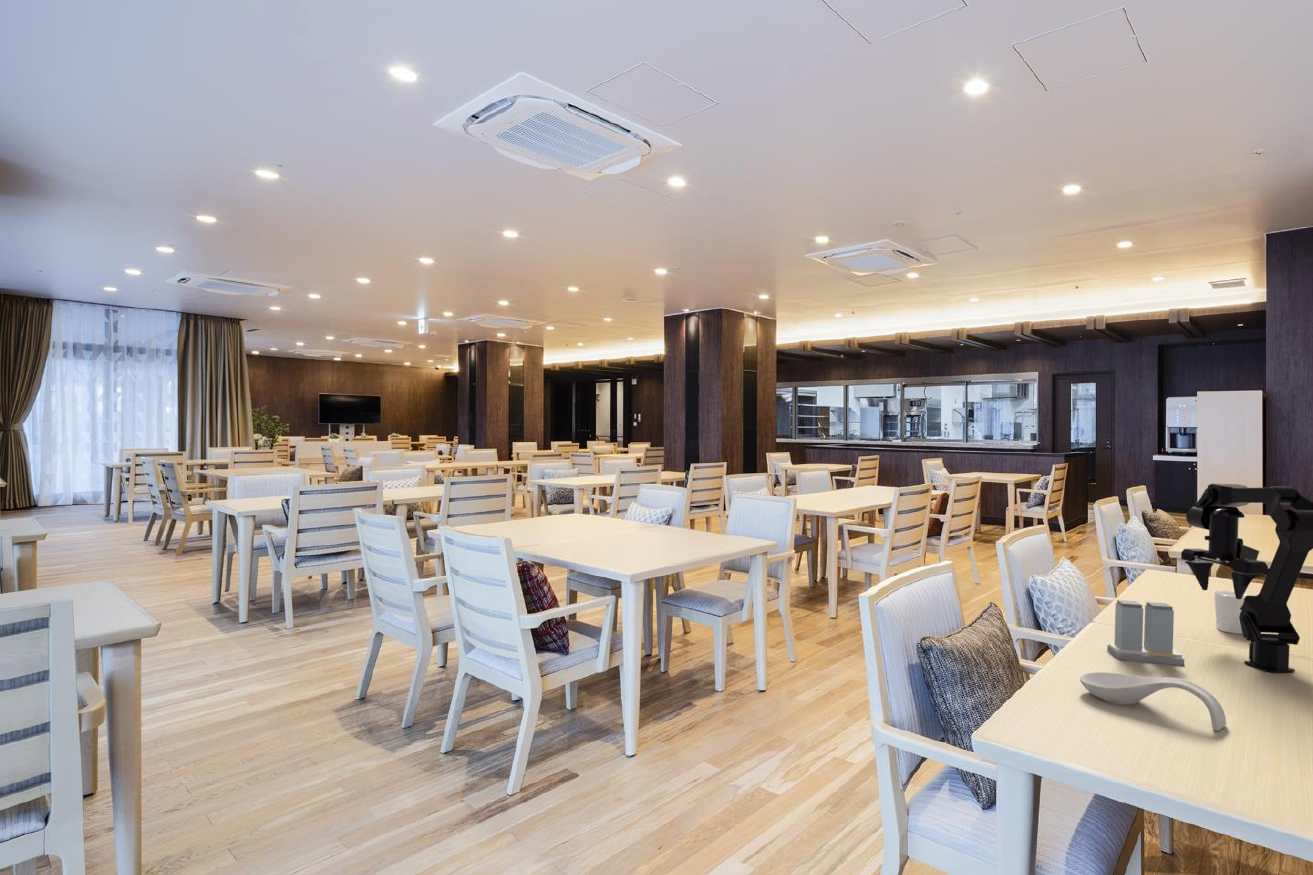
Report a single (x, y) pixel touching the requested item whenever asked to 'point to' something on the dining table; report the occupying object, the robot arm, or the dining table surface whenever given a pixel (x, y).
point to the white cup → (1228, 611)
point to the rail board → (1145, 655)
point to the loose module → (1158, 627)
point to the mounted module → (1129, 625)
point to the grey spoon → (1147, 691)
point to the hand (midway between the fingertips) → (1221, 594)
